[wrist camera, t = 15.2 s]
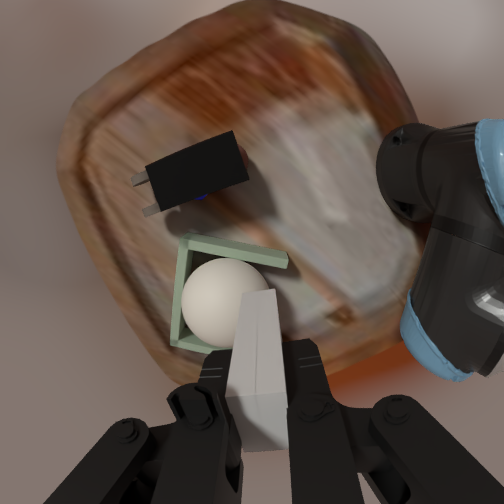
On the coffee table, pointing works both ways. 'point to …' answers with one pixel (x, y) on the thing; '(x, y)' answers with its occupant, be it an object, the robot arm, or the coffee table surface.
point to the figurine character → (194, 172)
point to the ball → (218, 298)
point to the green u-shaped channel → (183, 271)
